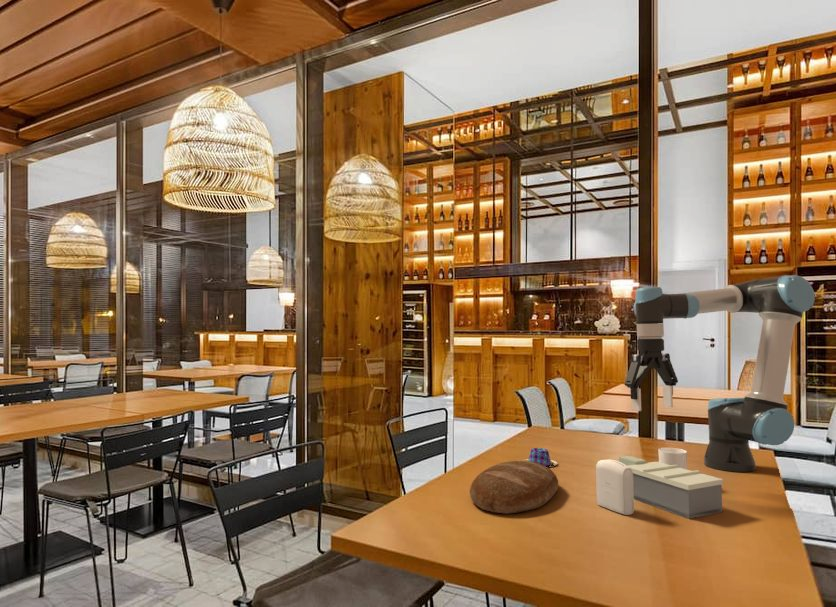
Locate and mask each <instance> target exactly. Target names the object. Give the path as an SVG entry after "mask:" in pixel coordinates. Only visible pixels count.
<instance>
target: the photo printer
mask: <svg viewBox="0 0 836 607" xmlns="http://www.w3.org/2000/svg"><path fill="white" fill-rule="evenodd" d="M595 480H596V482H595V484H596V486H595V487H596V503H597V505H598V506H599V507H602V508H604V509H608V510H610V511H613V512H616V513H618V514H622V515H624V516H625V515H626V516H630V515H633V514H634V512H635V499H634V489H633V472H632V470H631V468H629V467H628V466H627V465H625V464H623V463H621V462H619V460H615V459H610V458H609V459H608V458H607V459H602V460H598V461H597V463H596V465H595Z"/></svg>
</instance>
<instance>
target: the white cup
mask: <svg viewBox="0 0 836 607" xmlns="http://www.w3.org/2000/svg"><path fill="white" fill-rule="evenodd" d="M657 450H658V454H657V455H658V462H660V463H664V464H668V465H678V467H679V468H683V469H687V470H688V451H687V450H685V449H682V448H677V447H660V448H659V447H658V449H657Z"/></svg>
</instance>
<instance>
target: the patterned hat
mask: <svg viewBox="0 0 836 607" xmlns="http://www.w3.org/2000/svg"><path fill="white" fill-rule="evenodd" d="M528 459H529V460H528ZM524 460H528V461H532V462H536V463H539V464H541V465H544V466H548V465H550V466H549V467H550V468H551V467H552V466H551V461H552V462H554V463H555V465H554V466H557V465H558V462H557V461H555V460H553V459H551V457H550V452H549V450H548V449H546V448H544V447H543V448H542V447H532V448H531V449H530V451H529V456H528V458H527V459H523V460H522V461H524ZM554 466H553V467H554ZM549 467H548V468H549Z"/></svg>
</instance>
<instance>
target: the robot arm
mask: <svg viewBox="0 0 836 607" xmlns="http://www.w3.org/2000/svg"><path fill="white" fill-rule="evenodd" d="M815 296H816V295H815V291H814V289H813V286H812V285H811V284H810V282H809V281H808V280H807V279H805V278H804V277H803V276H801V275H795V274H793V275H792V274H791V275H785V274H784V275H781V276H773V277H772V276H771V277H764V278H757V279H751V280H747V281H744V282H740V283H735V284H728V285H726V286H724V287H723V288H717V289H716V288H715V289H710V290H709V289H707V290H701V291H691V292H681V293H680V292H679V293H663V289H662V287H660V286H644V287H638V288H636V290H635V301H634V303H633V307H632V308H633V309H632V310H633V313H634V315H635V317H636V318H635V320H636V336H637V338H638V339H636V347H637V348H636V349H637V351H638V352H639V354H632V355H631V359H630V360H631V361H630V362H631V363H630V366H629V369H628V372H627V375H626V378H625V382H624V386H625V387H627V389H628V388H629V389H630V399H631V410H632V411H638V412H642V392H641V390H642V389H641V388H639V387H640V386H641V383H642V382H643V380H644V378H645V376H646V374H647V372H648V371H650V370H655V371H656V372H657V374H658V376H659V377H660V379H661V380H662V382H663V384H664V385H662V398H663V399H662V400H663V401H662V402H663V407H664V408H665V407H666V408H671V409H672V408H673V407H674V406H673V405H674V404H673V400H674V398H673V397H674V396H673V395H674V386H676V385H677V384H678V383H679V380H678V378H677V375H676V373H675V369H674V367H673V364H672V361H671V354H670V353H668V352H667V353H664V350H665V340H664V338H663V337H664V336H665V332H664V330H665V329H664V319H668V320H669V319H692V318H695V317H697V315H700V314H710V313H715V312H725V311H726V312H728V313H755V314H757V313H758V316H759V317H760V318H761V319H762V325H761V330H760V331H761V332H760V339H759V344H758V349H757V354H756V355H757V356H756V360H755V367H754V373H753V378H752V385H751V390H750V392H749V393H747V394H745V396H744V397H721V398H711V399H709V400H708V402H707V403H708V407H707V416H708V417H707V419H708V445H707V447H706V450H705V453H704V457H703V464H704V465H705V466H706V467H709V468H711V469H715V470H716V469H717V470H720V471H728V472H738V473H739V472H740V473H744V472H754V471H756V470H757V468H756V467H757V466H756V460H755V458H754V455H753V452H752V450H751V447H750V442H754V443H758V444H760V445H765V446H766V445H768V446H780V445H782V444H784V443H786V442H787V441H788V440H790V438H791V437H792V435H793V433H794V430H795V420H794V418H793V415H792V414H791V412H789V411H788V408H789V407H788V405H789V404H788V403H787V402H786V401H785V399H784V394H785V387H786V383H787V382H786V381H787V377H788V376H787V375H788V368H789V363H790V356H791V353H792V352H791V351H792V346H793V345H792V344H793V339H794V332H795V327H796V324H798V323H799V322H801V321H802V320H803V314H804V312H807V311H809V310H810V309H811V308H812V307H813V306H814V305H815Z"/></svg>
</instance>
